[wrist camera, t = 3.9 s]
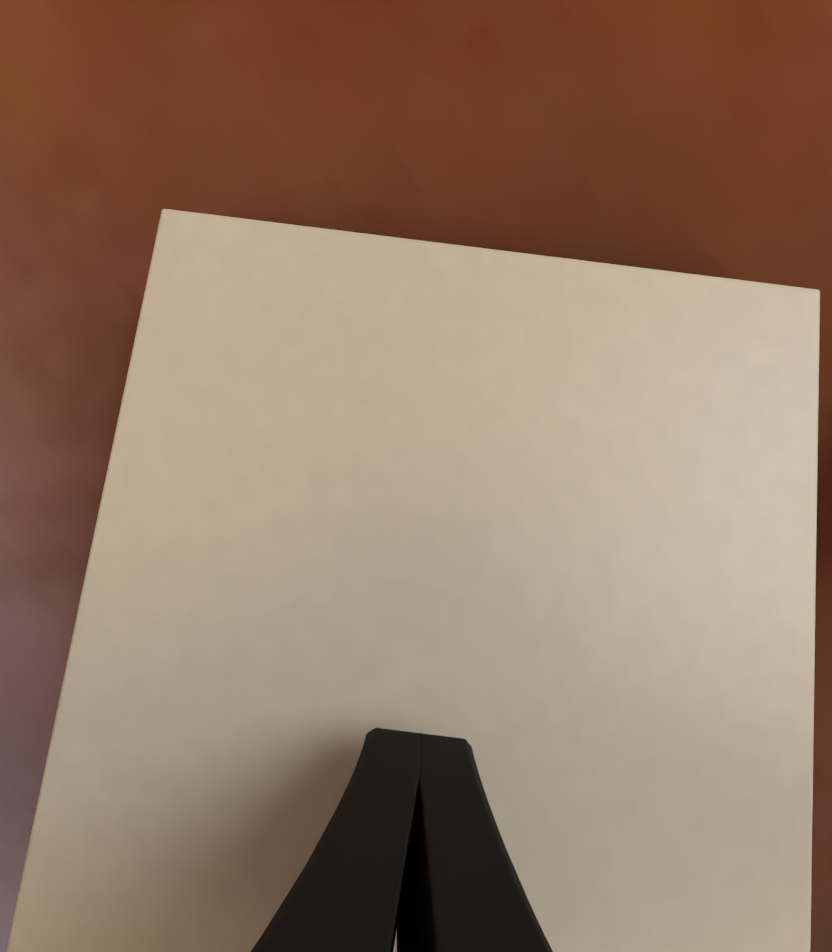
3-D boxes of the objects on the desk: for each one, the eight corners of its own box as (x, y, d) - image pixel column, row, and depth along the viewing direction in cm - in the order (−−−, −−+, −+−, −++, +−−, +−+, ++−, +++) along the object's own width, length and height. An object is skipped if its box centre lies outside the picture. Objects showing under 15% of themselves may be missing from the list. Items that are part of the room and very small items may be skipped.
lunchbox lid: (781, 1236, 9) (808, 1281, 9) (-15, 1137, 9) (-42, 1173, 9) (800, 303, 12) (821, 288, 11) (173, 226, 12) (160, 206, 11)
